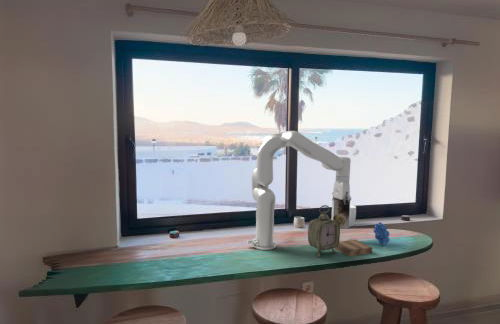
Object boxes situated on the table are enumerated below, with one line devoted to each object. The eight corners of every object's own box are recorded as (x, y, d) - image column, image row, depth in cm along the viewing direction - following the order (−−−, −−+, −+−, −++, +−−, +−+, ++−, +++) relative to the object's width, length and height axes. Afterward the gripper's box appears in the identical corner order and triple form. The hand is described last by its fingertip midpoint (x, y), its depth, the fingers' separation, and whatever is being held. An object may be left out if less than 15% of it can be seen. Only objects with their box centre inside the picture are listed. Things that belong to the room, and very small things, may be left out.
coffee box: (346, 226, 196) (348, 198, 195) (348, 229, 190) (350, 200, 189) (330, 225, 197) (332, 197, 196) (332, 228, 191) (333, 199, 189)
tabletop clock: (318, 259, 166) (319, 208, 164) (305, 253, 173) (307, 204, 171) (339, 253, 173) (340, 205, 171) (326, 248, 181) (327, 202, 179)
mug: (344, 229, 219) (345, 209, 218) (331, 225, 228) (331, 206, 227) (358, 226, 227) (359, 206, 226) (345, 222, 236) (346, 204, 235)
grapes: (367, 241, 194) (368, 221, 193) (377, 240, 196) (378, 220, 195) (382, 248, 183) (383, 226, 182) (392, 246, 185) (393, 225, 185)
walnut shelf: (348, 256, 170) (348, 250, 170) (333, 247, 183) (333, 241, 183) (371, 253, 175) (372, 247, 175) (355, 244, 188) (355, 239, 188)
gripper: (328, 177, 198) (326, 206, 200) (345, 181, 182) (344, 213, 183) (339, 177, 201) (337, 206, 202) (357, 181, 184) (355, 212, 186)
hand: (340, 209), depth 193 cm, fingers closed on coffee box, 8 cm apart
